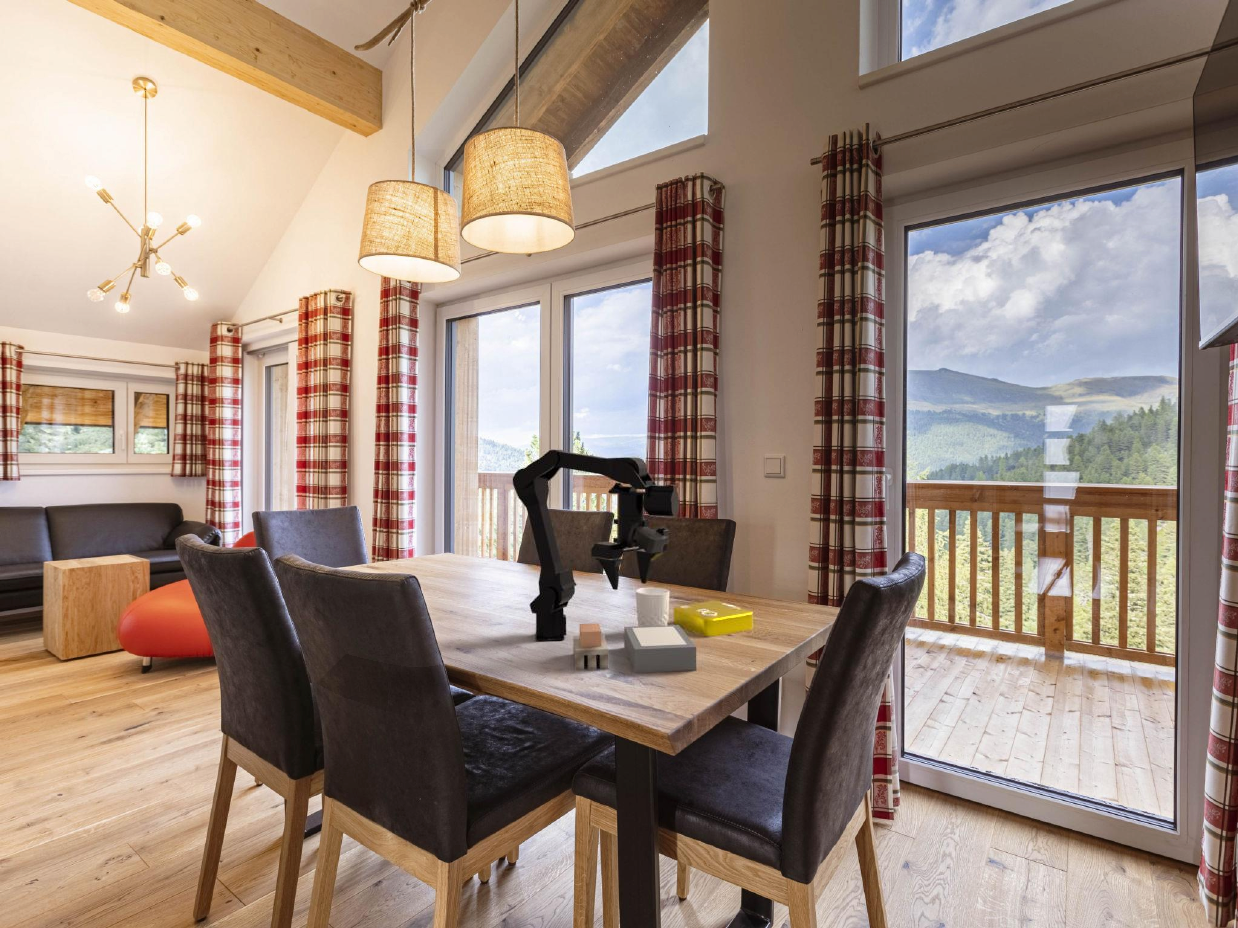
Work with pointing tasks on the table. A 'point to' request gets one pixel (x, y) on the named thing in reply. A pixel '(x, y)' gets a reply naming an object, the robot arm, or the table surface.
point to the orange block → (590, 635)
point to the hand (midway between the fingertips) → (629, 586)
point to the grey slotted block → (590, 654)
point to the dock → (659, 648)
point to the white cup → (652, 606)
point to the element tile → (713, 618)
